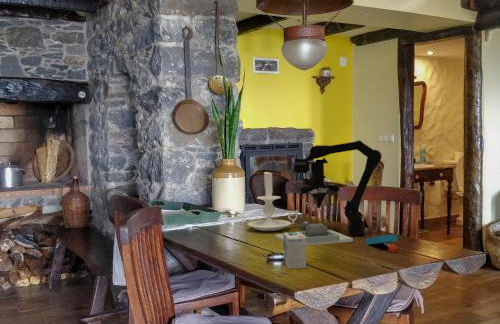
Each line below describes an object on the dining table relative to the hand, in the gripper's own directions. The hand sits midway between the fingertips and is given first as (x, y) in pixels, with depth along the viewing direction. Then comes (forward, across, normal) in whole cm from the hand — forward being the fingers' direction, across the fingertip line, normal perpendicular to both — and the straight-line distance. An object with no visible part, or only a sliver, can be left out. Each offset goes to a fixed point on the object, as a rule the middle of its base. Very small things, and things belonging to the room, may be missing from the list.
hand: (318, 207), depth 247 cm
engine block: (+11, +7, +13) cm, 18 cm away
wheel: (+8, +7, +1) cm, 11 cm away
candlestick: (+12, +15, -19) cm, 27 cm away
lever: (+13, -12, +36) cm, 40 cm away
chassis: (+12, +7, +9) cm, 16 cm away
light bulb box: (+12, +30, +46) cm, 56 cm away
